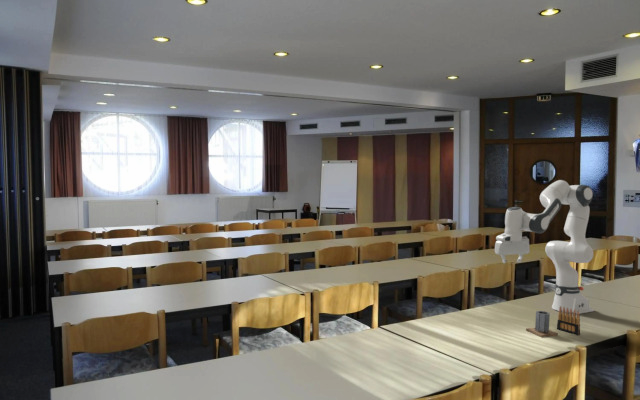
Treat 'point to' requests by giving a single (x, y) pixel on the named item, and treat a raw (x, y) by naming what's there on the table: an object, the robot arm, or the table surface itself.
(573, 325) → the ammunition clip
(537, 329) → the grey octagonal tube
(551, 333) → the stand
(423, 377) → the table surface
